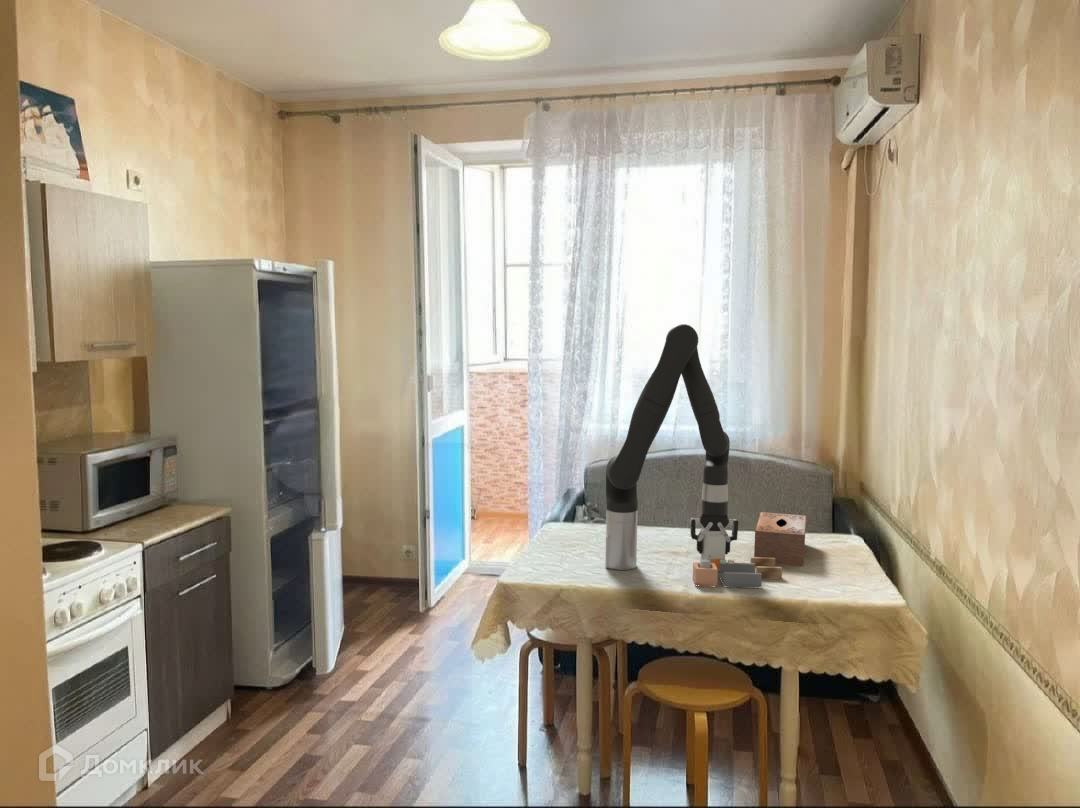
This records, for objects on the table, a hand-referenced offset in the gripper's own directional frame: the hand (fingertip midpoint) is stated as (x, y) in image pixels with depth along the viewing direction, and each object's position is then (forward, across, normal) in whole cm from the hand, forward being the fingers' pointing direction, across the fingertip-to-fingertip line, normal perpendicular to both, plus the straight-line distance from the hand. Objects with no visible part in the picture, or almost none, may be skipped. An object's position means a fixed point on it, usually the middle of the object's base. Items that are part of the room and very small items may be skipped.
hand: (713, 553), depth 244 cm
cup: (+5, -4, -13) cm, 15 cm away
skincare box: (+5, 0, 0) cm, 5 cm away
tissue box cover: (+5, +24, +20) cm, 32 cm away
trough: (+5, +15, -2) cm, 16 cm away
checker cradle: (+5, +6, -11) cm, 14 cm away
